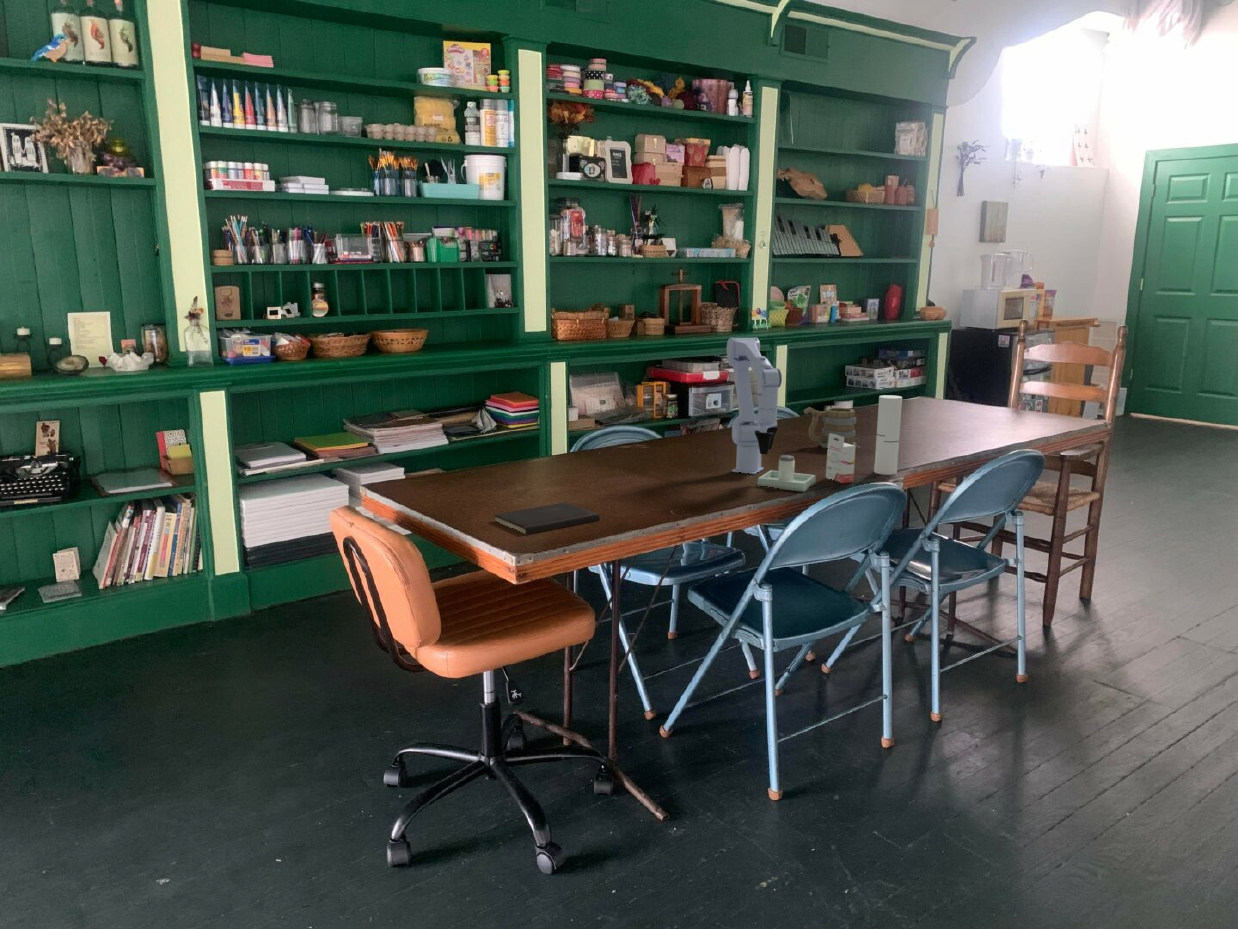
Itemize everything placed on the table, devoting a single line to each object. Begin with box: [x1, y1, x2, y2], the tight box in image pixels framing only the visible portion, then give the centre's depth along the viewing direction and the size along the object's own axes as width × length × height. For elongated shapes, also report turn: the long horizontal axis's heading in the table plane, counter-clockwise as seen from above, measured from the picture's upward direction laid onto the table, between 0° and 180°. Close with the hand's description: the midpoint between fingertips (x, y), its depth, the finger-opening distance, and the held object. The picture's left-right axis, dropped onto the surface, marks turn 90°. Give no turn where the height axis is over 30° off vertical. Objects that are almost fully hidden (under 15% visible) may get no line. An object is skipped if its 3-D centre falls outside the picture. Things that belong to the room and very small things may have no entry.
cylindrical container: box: [873, 394, 903, 476], centre depth 305 cm, size 7×7×25 cm
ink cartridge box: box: [825, 433, 856, 484], centre depth 295 cm, size 9×5×15 cm, turn 23°
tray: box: [757, 470, 817, 493], centre depth 289 cm, size 13×15×2 cm
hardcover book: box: [493, 501, 601, 535], centre depth 248 cm, size 16×23×2 cm
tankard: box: [803, 406, 858, 449], centre depth 347 cm, size 20×13×15 cm, turn 92°
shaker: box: [777, 454, 796, 482], centre depth 289 cm, size 5×5×8 cm
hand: (765, 451), depth 290 cm, fingers open, 7 cm apart
